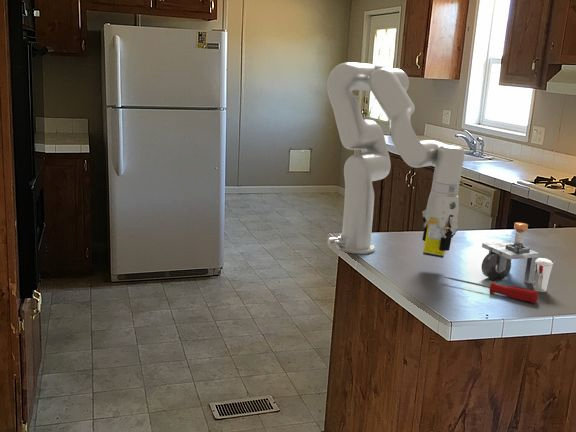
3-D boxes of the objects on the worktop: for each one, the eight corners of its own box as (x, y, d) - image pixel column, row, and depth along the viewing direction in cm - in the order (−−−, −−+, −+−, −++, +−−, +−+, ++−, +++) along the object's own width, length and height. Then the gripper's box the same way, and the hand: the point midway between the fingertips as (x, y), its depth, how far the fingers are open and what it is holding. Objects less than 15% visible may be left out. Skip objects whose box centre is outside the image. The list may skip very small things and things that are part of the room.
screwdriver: (444, 281, 171) (446, 269, 170) (537, 301, 159) (539, 289, 158) (440, 284, 168) (442, 272, 167) (535, 305, 156) (537, 293, 155)
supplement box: (444, 252, 181) (450, 218, 178) (443, 258, 175) (449, 223, 172) (424, 249, 182) (430, 214, 179) (422, 254, 177) (428, 219, 174)
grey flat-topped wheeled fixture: (497, 287, 168) (501, 252, 165) (470, 273, 179) (474, 240, 176) (533, 283, 172) (539, 249, 170) (505, 270, 183) (510, 238, 181)
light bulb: (516, 251, 170) (520, 226, 168) (508, 247, 173) (511, 222, 172) (527, 250, 171) (530, 225, 170) (518, 247, 174) (521, 222, 173)
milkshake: (550, 295, 164) (555, 260, 161) (529, 290, 166) (534, 256, 164) (552, 290, 168) (558, 256, 165) (532, 286, 170) (537, 252, 168)
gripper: (474, 195, 167) (463, 255, 172) (438, 181, 182) (429, 235, 187) (451, 195, 164) (441, 255, 169) (417, 181, 180) (409, 236, 185)
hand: (435, 245), depth 178 cm, fingers closed on supplement box, 8 cm apart
